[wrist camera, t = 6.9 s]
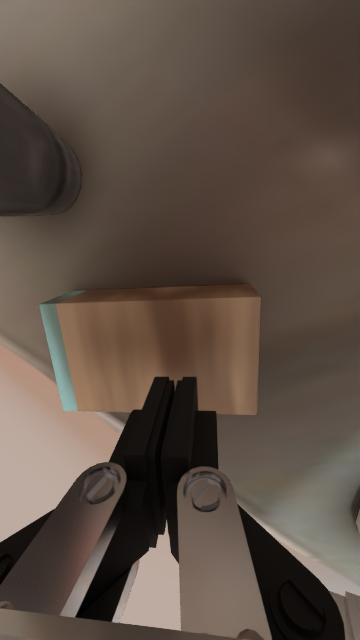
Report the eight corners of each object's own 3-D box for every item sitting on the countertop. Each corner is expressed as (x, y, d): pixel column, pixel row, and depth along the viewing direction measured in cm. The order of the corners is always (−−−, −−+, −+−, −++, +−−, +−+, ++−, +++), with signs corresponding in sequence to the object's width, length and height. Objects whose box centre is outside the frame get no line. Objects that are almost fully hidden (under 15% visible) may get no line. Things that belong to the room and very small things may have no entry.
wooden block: (260, 296, 13) (38, 304, 14) (256, 414, 15) (63, 410, 16) (249, 283, 17) (74, 290, 18) (247, 379, 19) (91, 378, 20)
